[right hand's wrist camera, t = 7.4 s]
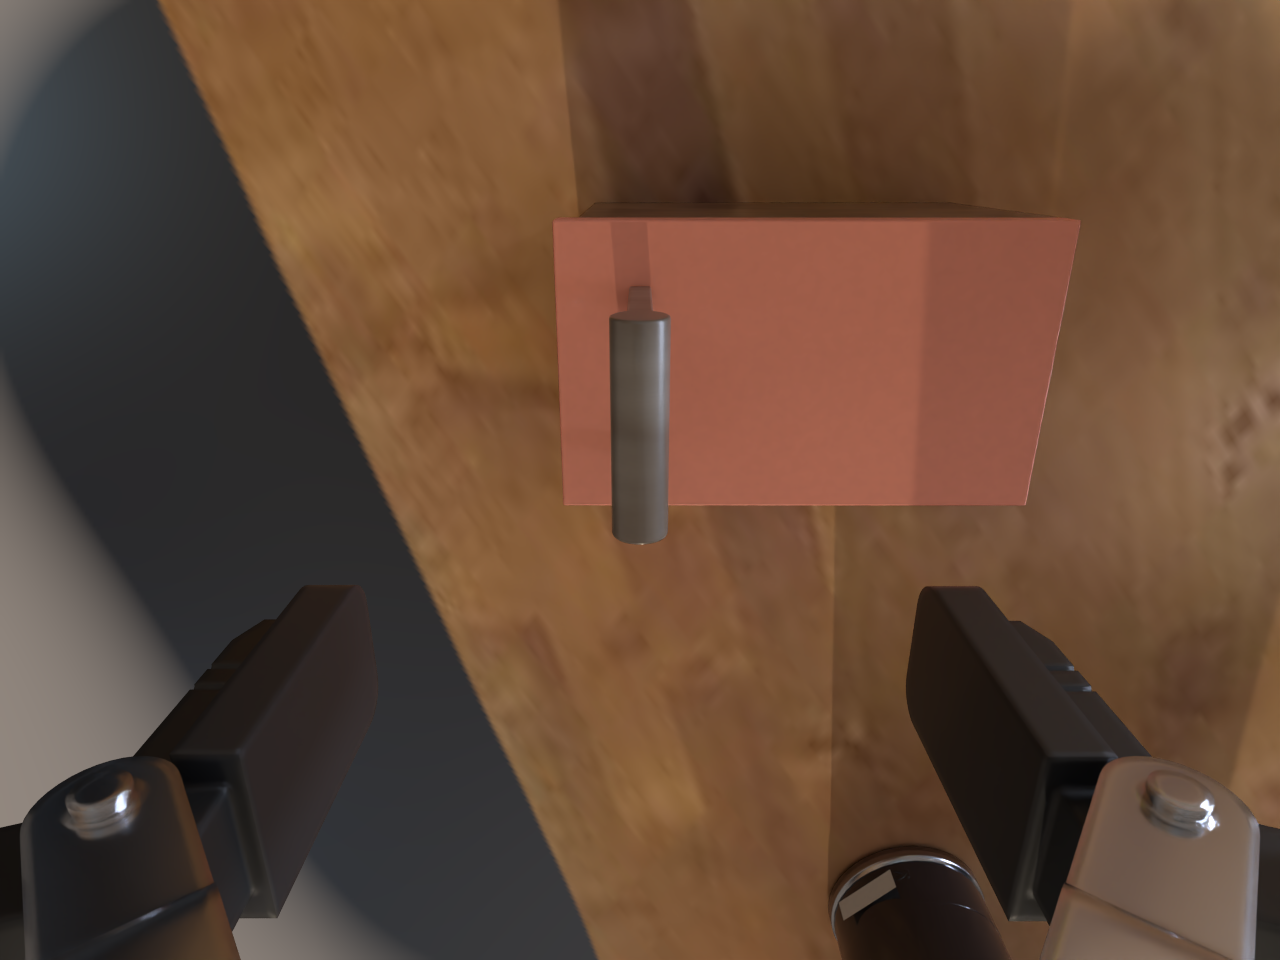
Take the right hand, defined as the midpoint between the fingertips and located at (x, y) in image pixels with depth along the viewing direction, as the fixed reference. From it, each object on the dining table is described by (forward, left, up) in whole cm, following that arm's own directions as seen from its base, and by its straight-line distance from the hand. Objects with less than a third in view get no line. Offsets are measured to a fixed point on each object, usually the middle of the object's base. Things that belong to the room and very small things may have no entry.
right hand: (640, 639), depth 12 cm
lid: (-3, -4, -17) cm, 18 cm away
